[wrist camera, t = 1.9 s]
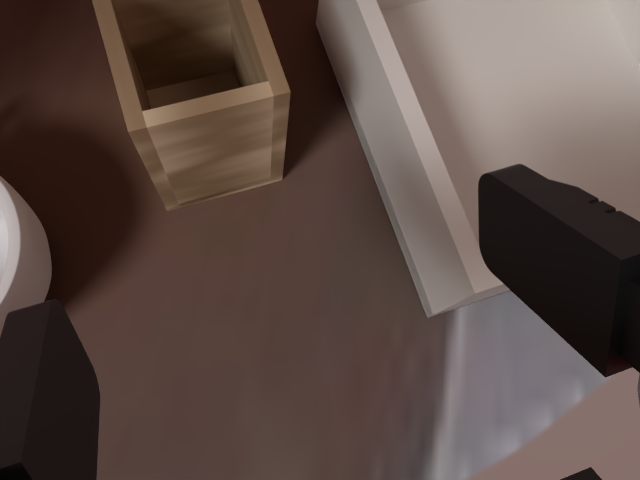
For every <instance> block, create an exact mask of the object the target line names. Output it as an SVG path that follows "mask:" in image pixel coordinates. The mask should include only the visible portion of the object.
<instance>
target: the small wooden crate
mask: <svg viewBox="0 0 640 480" xmlns="http://www.w3.org/2000/svg"><path fill="white" fill-rule="evenodd" d="M92 2H93V6H94V9H95V13H96V17H97V20H98V24H99V28H100V31H101V35H102V39H103V42H104V46H105V50H106V53H107V57H108V60H109V64H110V68H111V71H112V75H113V79H114V82H115V86H116V90H117V93H118V97H119V101H120V104H121V108H122V111H123V115H124V119H125V122H126V126H127V130H128V133H129V135H130V137H131V139H132V141H133V143H134V145H135V147H136V149H137V151H138V153H139V155H140V157H141V159H142V161H143V163H144V165H145V167H146V169H147V171H148V174H149V176H150V178H151V180H152V182H153V184H154V186H155V188H156V190H157V192H158V194H159V196H160V198H161V200H162V202H163V204H164V206H165V208H166V210H167V211H171V210H175V209H178V208H182V207H186V206H189V205H193V204H197V203H200V202H204V201H207V200H211V199H215V198H218V197H222V196H226V195H229V194H233V193H236V192H240V191H244V190H247V189H251V188H255V187H258V186H262V185H266V184H269V183H273V182H276V181H280V180H282V178H283V168H284V157H285V146H286V136H287V125H288V115H289V104H290V94H291V91H290V89H289V86H288V83H287V80H286V77H285V75H284V72H283V69H282V66H281V63H280V61H279V58H278V55H277V52H276V49H275V47H274V44H273V41H272V38H271V35H270V33H269V30H268V27H267V24H266V21H265V18H264V16H263V13H262V10H261V7H260V4H259V2H258V0H92Z"/></svg>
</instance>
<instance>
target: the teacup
mask: <svg viewBox="0 0 640 480" xmlns="http://www.w3.org/2000/svg"><path fill="white" fill-rule="evenodd" d="M51 276H52V263H51V255H50V249H49V244H48V240H47V236H46V233H45V230H44V228H43V226H42V224H41V222H40V220H39V219H38V217H37V216H36V214H35V213H34V212H33V210H32V209H31V208H30V206H29V205H28V204H27V203H26V202H25V200H24V199H23V198H22V197H21V196H20V195H19V194H18V193H17V191H16V190H15V189H14V188H13V187H12V186H11V185H10V184H9V183H8V182H6V181H5V180H4V179H3V178H2V177H1V176H0V336H1V333H2V329H3V326H4V323H5V319H6V316H7V314H8V313H9V312H11V311H14V310H18V309H21V308H25V307H28V306H31V305H35V304H38V303H42V302H44V300H45V298H46V296H47V293H48V290H49V286H50V282H51Z"/></svg>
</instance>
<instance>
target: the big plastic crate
mask: <svg viewBox="0 0 640 480" xmlns="http://www.w3.org/2000/svg"><path fill="white" fill-rule="evenodd" d="M315 24H316V27H317V29H318V32H319V34H320V37H321V40H322V42H323V45H324V48H325V50H326V53H327V55H328V58H329V61H330V63H331V66H332V69H333V71H334V74H335V76H336V79H337V82H338V84H339V87H340V90H341V92H342V95H343V97H344V100H345V103H346V105H347V108H348V111H349V113H350V116H351V119H352V121H353V124H354V126H355V129H356V132H357V134H358V137H359V140H360V142H361V145H362V147H363V150H364V153H365V155H366V158H367V161H368V163H369V166H370V168H371V171H372V174H373V176H374V179H375V182H376V184H377V187H378V189H379V192H380V195H381V197H382V200H383V203H384V205H385V208H386V211H387V213H388V216H389V218H390V221H391V224H392V226H393V229H394V232H395V234H396V237H397V239H398V242H399V245H400V247H401V250H402V253H403V255H404V258H405V260H406V263H407V266H408V268H409V271H410V274H411V276H412V279H413V281H414V284H415V287H416V289H417V292H418V295H419V297H420V300H421V303H422V305H423V308H424V310H425V313H426V316H427V318H429V317H432V316H435V315H438V314H441V313H444V312H447V311H450V310H453V309H456V308H459V307H462V306H465V305H468V304H471V303H474V302H477V301H480V300H483V299H486V298H489V297H492V296H495V295H498V294H500V293H503V292H506V291H509V290H510V289H509V288H508V287H507V286H506V285H504V284H503V283H502V282H501V281H500V280H499V279H498V278H497V277H496V276H495V275H494V274H492V272H491V271H490V270H489V269H488V268H487V266H486V264H485V262H484V260H483V258H482V255H481V252H480V247H479V218H478V183H479V179H480V177H481V176H482V175H483V174H485V173H488V172H492V171H495V170H498V169H502V168H505V167H509V166H512V165H515V164H523V165H525V166H527V167H528V168H530V169H532V170H534V171H535V172H537V173H539V174H540V175H542V176H544V177H546V178H547V179H549V180H554V181H557V182H561V183H565V184H569V185H572V186H576V187H579V188H581V189H582V190H584V191H586V192H588V193H590V194H591V195H593V196H595V197H597V198H598V199H599V202H600V201H604V202H606V203H608V204H609V205H611V206H613V207H615V208H616V211H622V212H624V213H625V214H627V215H629V216H631V217H633V218H634V219H636V220H638V221H640V0H319V2H318V9H317V16H316V23H315Z"/></svg>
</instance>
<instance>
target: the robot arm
mask: <svg viewBox="0 0 640 480" xmlns="http://www.w3.org/2000/svg"><path fill="white" fill-rule="evenodd" d="M478 218H479V247H480V252H481V255H482V258H483V260H484V262H485V264H486V266H487V268H488V269H489V270H490V271H491V272H492V274H494V275H495V276H496V277H497V278H498V279H499V280H500V281H501V282H502V283H503V284H504V285H506V286H507V287H508V288H509V289H510V290H511V291H512V292H513V293H514V294H515V295H516V296H517V297H519V298H520V299H521V300H522V301H523V302H524V303H525V304H526V305H527V306H528V307H529V308H530V309H532V310H533V311H534V312H535V313H536V314H537V315H538V316H539V317H540V318H541V319H542V320H544V321H545V322H546V323H547V324H548V325H549V326H550V327H551V328H552V329H553V330H554V331H555V332H557V333H558V334H559V335H560V336H561V337H562V338H563V339H564V340H565V341H566V342H567V343H569V344H570V345H571V346H572V347H573V348H574V349H575V350H576V351H577V352H578V353H579V354H580V355H582V356H583V357H584V358H585V359H586V360H587V361H588V362H589V363H590V364H591V365H592V366H594V367H595V368H596V369H597V370H598V371H599V372H600V373H601V374H602V375H603V376H604V377H608V376H611V375H613V374H616V373H618V372H621V371H624V370H626V369H629V368H632V367H633V368H635V369H636V370H637V371H638V372H639V373H640V221H638V220H636V219H634V218H633V217H631V216H629V215H627V214H625V213H624V212H622V211H616V208H615V207H613V206H611V205H609V204H608V203H606V202H604V201H600V202H599V199H598V198H597V197H595V196H593V195H591V194H590V193H588V192H586V191H584V190H582V189H581V188H579V187H576V186H572V185H569V184H565V183H561V182H557V181H554V180H549V179H547V178H546V177H544V176H542V175H540V174H539V173H537V172H535V171H534V170H532V169H530V168H528V167H527V166H525V165H523V164H515V165H512V166H509V167H505V168H502V169H498V170H495V171H492V172H488V173H485V174H483V175H482V176H481V177H480V179H479V183H478ZM638 397H639V404H640V375H639V382H638ZM99 411H100V392H99V386H98V381H97V377H96V374H95V371H94V368H93V366H92V364H91V362H90V360H89V358H88V356H87V354H86V352H85V350H84V347H83V345H82V343H81V341H80V339H79V337H78V335H77V333H76V331H75V329H74V327H73V325H72V323H71V321H70V319H69V317H68V315H67V313H66V311H65V309H64V307H63V306H62V304H61V303H60V302H59V301H58V300H57V299H52V300H48V301H45V302H42V303H38V304H35V305H31V306H28V307H25V308H21V309H18V310H14V311H11V312H9V313H8V314H7V316H6V319H5V323H4V326H3V329H2V333H1V336H0V480H96V475H97V454H98V432H99ZM561 480H602V479H601V478H600V477H599V476H598V475H597V474H596V472H595V471H594V470H593V469H592V468H591V467H590V468H588V469H585V470H583V471H580V472H578V473H576V474H573V475H570V476H568V477H566V478H563V479H561Z"/></svg>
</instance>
